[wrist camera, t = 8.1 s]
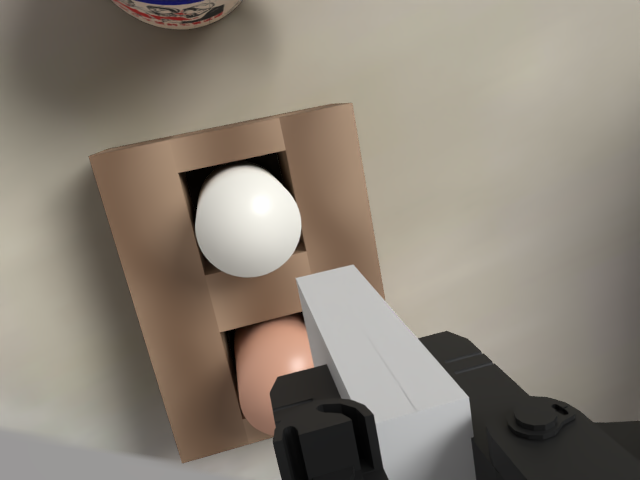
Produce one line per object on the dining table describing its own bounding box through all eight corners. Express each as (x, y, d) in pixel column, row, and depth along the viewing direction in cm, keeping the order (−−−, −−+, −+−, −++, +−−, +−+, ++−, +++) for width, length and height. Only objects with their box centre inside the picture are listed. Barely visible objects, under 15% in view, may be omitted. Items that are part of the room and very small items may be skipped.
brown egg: (303, 294, 30) (325, 338, 24) (318, 364, 31) (342, 421, 25) (225, 314, 29) (229, 363, 24) (243, 384, 31) (251, 447, 25)
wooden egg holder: (331, 103, 29) (352, 102, 25) (377, 363, 34) (401, 400, 29) (107, 148, 28) (88, 156, 23) (185, 415, 32) (182, 463, 28)
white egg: (273, 152, 28) (290, 164, 22) (290, 233, 29) (310, 263, 23) (188, 170, 27) (183, 187, 22) (209, 252, 28) (209, 288, 23)
